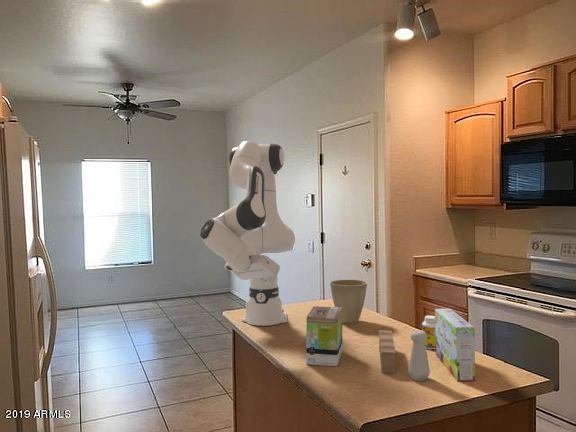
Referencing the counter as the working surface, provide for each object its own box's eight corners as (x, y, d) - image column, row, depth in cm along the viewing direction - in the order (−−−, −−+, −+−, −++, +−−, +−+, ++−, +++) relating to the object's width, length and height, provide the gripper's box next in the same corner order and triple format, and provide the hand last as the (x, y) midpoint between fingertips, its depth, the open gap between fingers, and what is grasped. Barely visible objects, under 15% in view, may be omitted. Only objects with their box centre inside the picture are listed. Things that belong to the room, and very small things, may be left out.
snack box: (433, 355, 148) (433, 308, 147) (451, 355, 148) (451, 307, 147) (455, 381, 127) (455, 326, 126) (476, 381, 127) (476, 326, 126)
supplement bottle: (418, 346, 157) (418, 316, 157) (431, 343, 159) (431, 314, 159) (430, 351, 152) (430, 319, 152) (443, 348, 154) (443, 317, 154)
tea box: (338, 367, 139) (338, 317, 138) (305, 365, 141) (304, 316, 140) (343, 350, 154) (342, 306, 153) (312, 349, 156) (312, 305, 155)
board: (379, 348, 155) (378, 330, 155) (391, 348, 155) (391, 330, 155) (381, 372, 134) (381, 352, 134) (395, 373, 133) (395, 352, 133)
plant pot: (374, 320, 190) (374, 281, 190) (354, 328, 179) (353, 287, 179) (344, 315, 200) (343, 277, 200) (322, 322, 189) (322, 282, 189)
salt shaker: (417, 384, 125) (417, 336, 125) (403, 376, 131) (403, 330, 130) (434, 380, 128) (434, 333, 127) (420, 373, 133) (420, 327, 133)
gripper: (264, 246, 146) (294, 272, 151) (230, 253, 161) (258, 277, 167) (255, 262, 142) (286, 288, 148) (221, 268, 158) (250, 291, 164)
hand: (271, 282), depth 157 cm, fingers closed
